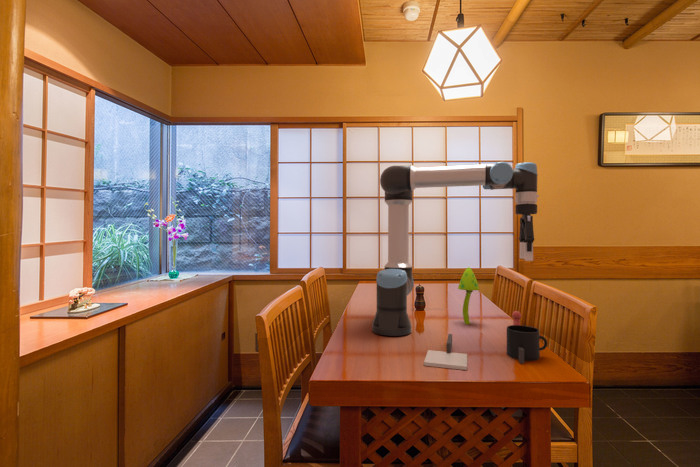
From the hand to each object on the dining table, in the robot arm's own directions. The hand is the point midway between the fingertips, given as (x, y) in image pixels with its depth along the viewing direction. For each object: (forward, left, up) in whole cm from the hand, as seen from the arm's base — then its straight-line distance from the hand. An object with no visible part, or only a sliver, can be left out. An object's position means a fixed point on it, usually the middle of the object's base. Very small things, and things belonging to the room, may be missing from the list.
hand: (526, 259), depth 142 cm
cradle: (-16, -28, -29) cm, 44 cm away
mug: (-3, -26, -30) cm, 40 cm away
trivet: (-27, -39, -29) cm, 56 cm away
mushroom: (-21, +7, -29) cm, 36 cm away
